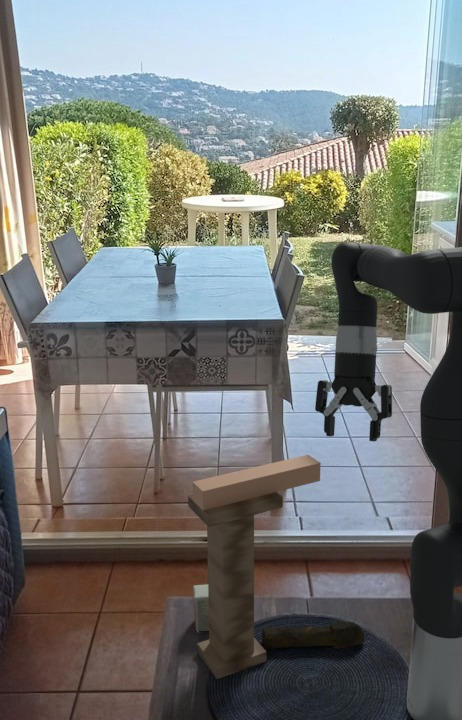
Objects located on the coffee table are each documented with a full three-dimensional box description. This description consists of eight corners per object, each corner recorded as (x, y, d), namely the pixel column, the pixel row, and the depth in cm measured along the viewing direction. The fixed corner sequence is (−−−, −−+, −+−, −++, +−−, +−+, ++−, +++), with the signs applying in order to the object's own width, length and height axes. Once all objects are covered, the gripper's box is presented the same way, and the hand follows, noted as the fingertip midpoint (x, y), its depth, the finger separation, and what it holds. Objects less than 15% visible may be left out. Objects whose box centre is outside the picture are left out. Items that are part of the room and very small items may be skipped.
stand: (258, 631, 140) (259, 478, 131) (280, 655, 133) (282, 496, 124) (192, 654, 134) (187, 495, 125) (211, 681, 127) (208, 515, 118)
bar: (307, 472, 133) (308, 454, 132) (320, 480, 130) (320, 462, 129) (192, 500, 123) (192, 481, 122) (203, 510, 120) (202, 491, 119)
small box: (219, 617, 144) (218, 582, 142) (221, 631, 140) (221, 595, 138) (194, 619, 144) (193, 584, 141) (195, 633, 140) (194, 597, 137)
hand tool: (262, 654, 134) (262, 633, 133) (261, 640, 138) (261, 619, 136) (365, 654, 134) (366, 633, 132) (362, 640, 138) (363, 619, 136)
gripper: (312, 349, 136) (307, 436, 136) (385, 352, 129) (381, 444, 129) (328, 350, 142) (324, 433, 143) (399, 353, 135) (395, 441, 135)
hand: (351, 438), depth 136 cm, fingers open, 8 cm apart
